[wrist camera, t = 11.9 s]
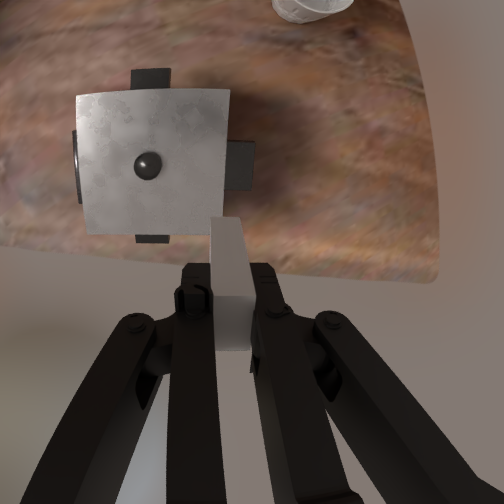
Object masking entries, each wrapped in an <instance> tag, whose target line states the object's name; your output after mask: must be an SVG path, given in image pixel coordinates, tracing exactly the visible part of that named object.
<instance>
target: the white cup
mask: <svg viewBox="0 0 504 504" xmlns="http://www.w3.org/2000/svg"><path fill="white" fill-rule="evenodd" d="M271 1H272V6H273V8H274V10H275V11H276V12H277V14H278V15H279V16H280V17H282V18H283V19H285V20H287V21H289V22H292V23H298V24H303V23H307V22H312V21H315V20H318V19H321V18H324V17H327V16H329V15H332V14H335V13H337V12H340V11H342V10H344V9H346V8H348V7H349V6H350V5H351V4H352V3H353V1H354V0H271Z"/></svg>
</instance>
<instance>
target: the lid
mask: <svg viewBox="0 0 504 504" xmlns="http://www.w3.org/2000/svg"><path fill="white" fill-rule="evenodd" d="M229 100H230V89H203V88H170V89H142V90H126V91H113V92H103V93H94V94H85V95H78V96H76V125H77V130H73V131H72V134H73V152H74V165H75V176H76V186H77V195H78V203H79V204H83V210H84V217H85V224H86V230H87V234H142V235H210V219H211V217H223V198H224V190H250V191H251V188H252V177H253V165H254V153H255V142H254V141H241V140H227V129H228V114H229Z"/></svg>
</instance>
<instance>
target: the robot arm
mask: <svg viewBox="0 0 504 504" xmlns="http://www.w3.org/2000/svg"><path fill="white" fill-rule="evenodd" d="M174 298H175V311H176V312H175V313H174V314H173V315H171V316H169V317H167V318H164V319H161V320H156V321H154V319H153V318H151V317H150V316H149V315H147V314H144V313H133V314H129V315H127V316H125V317H123V318H122V319H121V320H120V321H119V323H118V324H117V326H116V327H115V329H114V331H113V332H112V334H111V335H110V337H109V338H108V340H107V342H106V343H105V345H104V346H103V348H102V350H101V351H100V353H99V355H98V356H97V358H96V360H95V361H94V363H93V365H92V366H91V368H90V370H89V371H88V373H87V375H86V377H85V378H84V380H83V381H82V383H81V385H80V387H79V388H78V390H77V392H76V394H75V395H74V397H73V399H72V401H71V402H70V404H69V406H68V408H67V410H66V412H65V413H64V415H63V417H62V419H61V421H60V422H59V425H58V426H57V428H56V430H55V432H54V434H53V436H52V438H51V440H50V442H49V443H48V445H47V447H46V450H45V451H44V453H43V455H42V457H41V459H40V461H39V463H38V465H37V467H36V469H35V471H34V474H33V476H32V478H31V480H30V482H29V484H28V486H27V489H26V491H25V493H24V495H23V497H22V500H21V502H20V504H115V502H116V499H117V496H118V494H119V491H120V488H121V485H122V483H123V480H124V477H125V474H126V472H127V469H128V466H129V463H130V461H131V458H132V455H133V453H134V450H135V447H136V444H137V442H138V439H139V437H140V434H141V432H142V429H143V426H144V424H145V421H146V419H147V416H148V413H149V411H150V409H151V406H152V403H153V401H154V398H155V396H156V393H157V391H158V388H159V386H160V383H161V381H162V378H163V375H165V374H169V373H170V386H169V404H168V425H167V461H166V504H227V499H226V489H225V479H224V469H223V458H222V446H221V434H220V421H219V407H218V392H217V377H216V359H215V351H240V350H241V351H245V350H250V346H252V358H251V367H250V373H253V375H254V382H255V388H256V395H257V401H258V407H259V413H260V419H261V426H262V432H263V438H264V444H265V450H266V456H267V462H268V468H269V474H270V479H271V485H272V491H273V497H274V502H275V504H364V502H363V500H362V498H361V497H360V495H359V494H358V493H356V492H354V491H352V490H351V489H350V487H349V485H348V482H347V479H346V475H345V472H344V468H343V465H342V462H341V459H340V455H339V452H338V449H337V445H336V442H335V439H334V436H333V433H332V430H331V426H330V423H329V420H328V417H327V413H326V411H327V412H328V414H329V416H330V417H331V419H332V420H333V422H334V423H335V425H336V427H337V428H338V430H339V431H340V433H341V434H342V436H343V437H344V439H345V441H346V442H347V444H348V445H349V447H350V448H351V450H352V451H353V453H354V455H355V456H356V458H357V459H358V461H359V462H360V464H361V465H362V467H363V468H364V470H365V471H366V473H367V475H368V476H369V478H370V479H371V481H372V482H373V484H374V485H375V487H376V488H377V490H378V491H379V493H380V494H381V496H382V497H383V499H384V501H385V502H386V504H504V493H503V492H501V491H499V490H497V489H496V488H494V487H493V486H491V485H490V484H488V483H486V482H485V481H483V480H481V479H480V478H478V477H477V476H476V474H475V473H474V472H473V470H472V469H471V468H470V467H469V465H468V464H467V463H466V461H465V460H464V459H463V458H462V456H461V455H460V454H459V452H458V451H457V450H456V449H455V447H454V446H453V445H452V444H451V443H450V441H449V440H448V438H447V437H446V436H445V435H444V433H443V432H442V431H441V430H440V429H439V427H438V426H437V425H436V424H435V422H434V421H433V420H432V419H431V417H430V416H429V415H428V414H427V412H426V411H425V410H424V409H423V408H422V406H421V405H420V404H419V403H418V402H417V400H416V399H415V398H414V397H413V395H412V394H411V393H410V392H409V391H408V389H407V388H406V387H405V386H404V384H403V383H402V382H401V381H400V380H399V378H398V377H397V376H396V375H395V373H394V372H393V371H392V370H391V369H390V368H389V366H388V365H387V364H386V363H385V362H384V361H383V359H382V358H381V357H380V356H379V354H378V353H377V352H376V351H375V350H374V349H373V347H372V346H371V345H370V344H369V343H368V341H367V340H366V339H365V338H364V337H363V336H362V334H361V333H360V332H359V331H358V330H357V329H356V327H355V326H354V325H353V324H352V323H351V322H350V320H349V319H348V318H347V317H345V316H344V315H343V314H341V313H338V312H336V311H323V312H320V313H318V315H317V316H316V317H315V319H311V318H306V317H302V316H298V315H296V314H294V312H293V310H292V309H291V307H290V306H288V305H287V304H286V303H285V301H284V298H283V295H282V292H281V289H280V286H279V283H278V280H277V278H276V273H275V270H274V268H272V267H271V266H270V265H269V264H268V263H249V259H248V254H247V250H246V245H245V240H244V235H243V231H242V226H241V221H240V217H211V219H210V263H187V265H186V266H185V267H184V268H183V269H182V278H181V286H179V287H178V288H177V289H176V290H175V293H174ZM325 409H326V410H325Z"/></svg>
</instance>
